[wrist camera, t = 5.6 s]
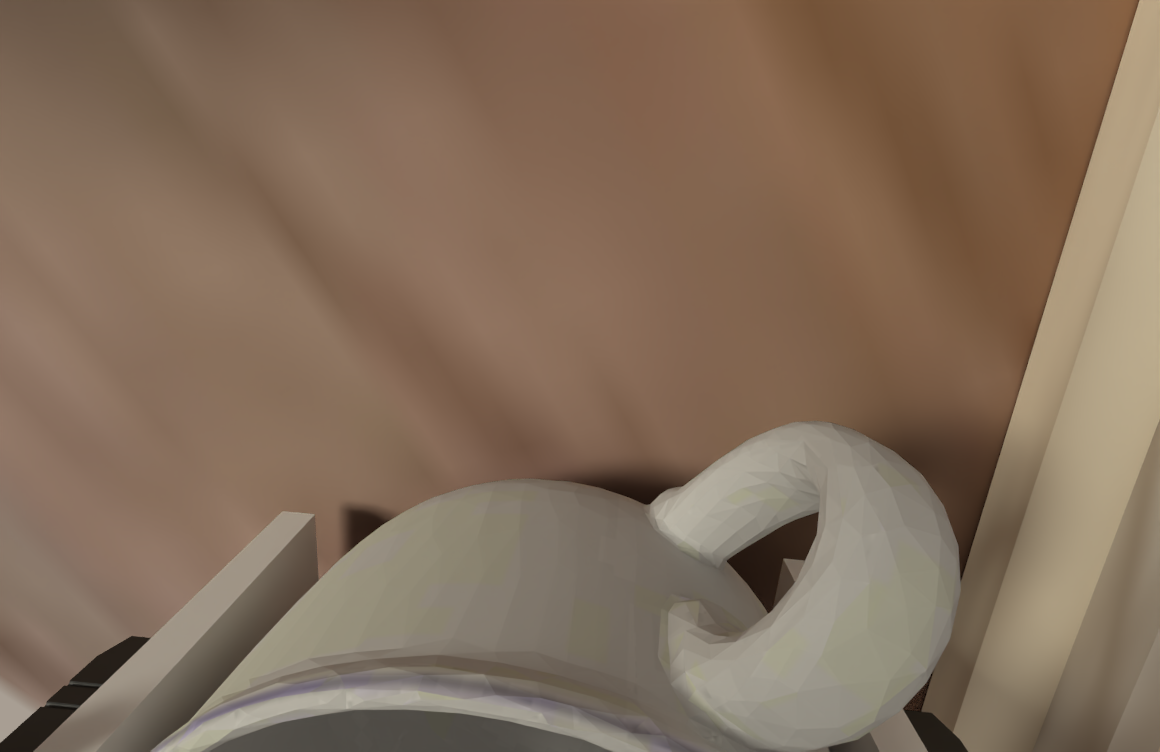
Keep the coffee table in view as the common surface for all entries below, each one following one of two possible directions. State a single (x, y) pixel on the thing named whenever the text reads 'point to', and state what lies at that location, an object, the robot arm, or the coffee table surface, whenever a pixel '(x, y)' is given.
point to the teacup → (613, 617)
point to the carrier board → (1078, 478)
